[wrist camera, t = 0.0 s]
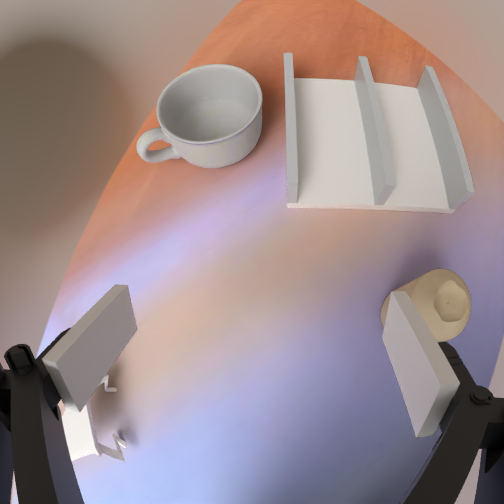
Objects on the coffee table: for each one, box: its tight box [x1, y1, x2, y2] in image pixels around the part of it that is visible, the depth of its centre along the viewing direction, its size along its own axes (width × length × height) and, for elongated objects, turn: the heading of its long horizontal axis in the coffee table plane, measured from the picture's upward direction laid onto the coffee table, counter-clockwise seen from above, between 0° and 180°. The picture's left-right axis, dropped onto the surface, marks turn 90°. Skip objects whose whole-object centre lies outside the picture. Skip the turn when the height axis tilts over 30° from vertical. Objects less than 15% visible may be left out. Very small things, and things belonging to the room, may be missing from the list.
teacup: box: [137, 64, 263, 168], centre depth 32 cm, size 14×11×8 cm
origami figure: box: [62, 375, 127, 462], centre depth 26 cm, size 12×8×5 cm
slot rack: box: [284, 53, 475, 213], centre depth 31 cm, size 18×19×6 cm
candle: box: [380, 269, 471, 342], centre depth 24 cm, size 6×6×10 cm
